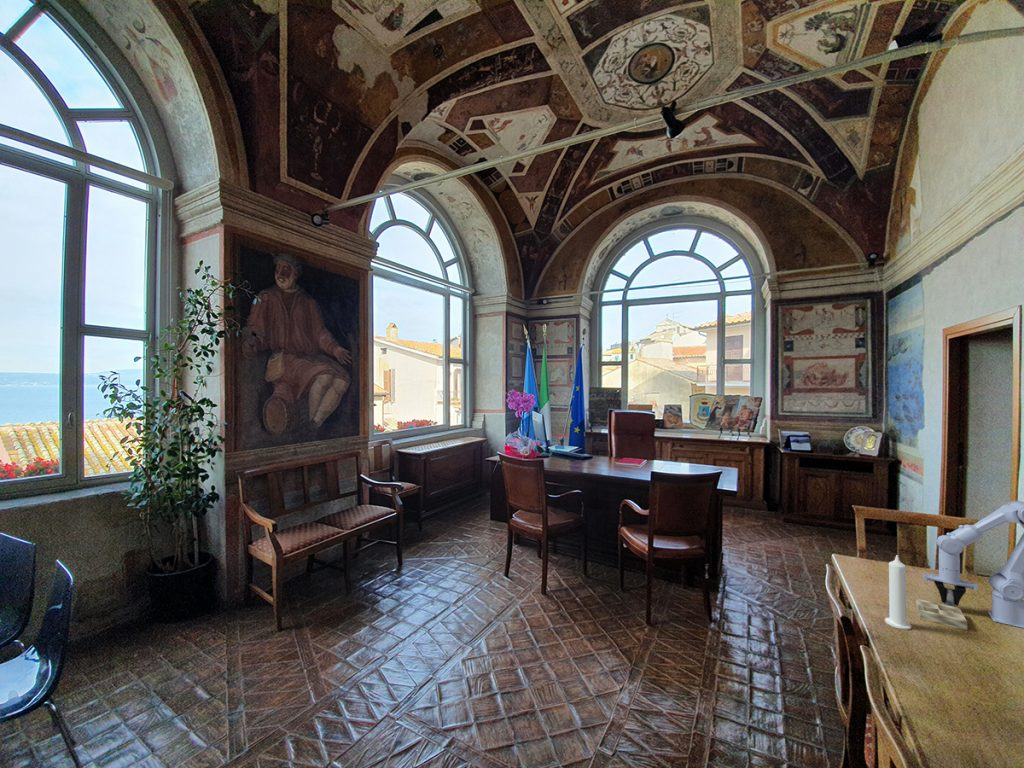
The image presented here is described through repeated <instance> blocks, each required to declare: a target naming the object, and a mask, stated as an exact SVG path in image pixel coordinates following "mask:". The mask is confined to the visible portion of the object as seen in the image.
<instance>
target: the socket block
mask: <svg viewBox="0 0 1024 768" xmlns="http://www.w3.org/2000/svg"><path fill="white" fill-rule="evenodd" d="M915 608H916V611H917V613H918V617H919V619H920V620H923V621H926V622H931V623H935V624H939V625H944V626H947V627H951V628H955V629H959V630H965V631H968V620H967V619H966V617H965V616H964V613H963V612H962V610H961V608H959V607H958V606H955V607H952V606H948V605H944V603H938V602H933V601H929V600H924V599H921V598H915Z"/></svg>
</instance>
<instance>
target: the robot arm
mask: <svg viewBox="0 0 1024 768" xmlns="http://www.w3.org/2000/svg"><path fill="white" fill-rule="evenodd" d="M1006 523H1012V524H1020V526H1021V527H1022V528H1023V529H1024V501H1020V500H1011V501H1009V502H1008V503H1007V504H1003V505H1001V506H1000V507H999V508H998V509H996V510H995V511H993V512H992V513H989V514H988V515H987V516H985V517H983V518H982V519H981V520H979V521H977V522H975V523H974V524H964V525H963V524H960V525H958V528H956V529H954V530H953V531H951V532H947V533H946V534H944V535H943V534H942V535H940V536H938V537H937V539H936V540H935V543H936V546H937V547H938V575H936V574H928V573H923V574H922V579H923V581H926V582H927V581H929V582H934V584H935V586H936V588H937V590H938V593H939V596H940V601H941V604H944V603H945V597H944V591H945V587H946V586H945V584H946V585H950V586H953V587H954V588H953V589H955V607H958V606H959V604H960V601H961V599H962V598H963V596H964V595H965V594H966V592H967V589H969V590H970V589H971V590H973V591H977V592H978V587H979V586H978V584H977V583H975V582H974V583H973V582H971V581H970V582H969V581H966V580H963V579H961V558H960V556H961V555H960V554H961V553H962V552H963V551H964V548H966V547H967V546H970V544H974V543H975V542H977V541H979V540H980V539H982V538H983V533H986V532H988V531H990V530H992V529H994V528H997V527H999V526H1002V525H1003V524H1006ZM988 583H989V585H990V586H991V587H992V590H991V611H987V613H988V615H989V616H990V618H991V620H992V621H993V622H995V623H1000V624H1004V625H1008V626H1014V627H1018V628H1021V629H1024V532H1023V533H1022V535H1021V537H1020V539H1018V542H1017V544H1016V545H1015V547H1014V549H1013V550H1012V552H1011V554H1010V556H1009V557H1008V558H1007V560H1006V563H1005V564H1004V566H1003V567H1000V568H998V569H997V570H996V572H995V573H993V574H990V576H989V577H988Z"/></svg>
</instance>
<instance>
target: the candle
mask: <svg viewBox="0 0 1024 768" xmlns="http://www.w3.org/2000/svg"><path fill="white" fill-rule="evenodd" d="M906 568H907V567H906V565H905V564H904V563H903V562H902V561H901V560H900V558H899V555H898V554H896V555H895V558H894V560H892V561H889V562H888V590H889V591H888V593H889V596H888V598H889V600H888V601H889V603H888V606H889V607H888V609H889V610H888V613H889V616H888V617H885V618H884V622H885V623H886V625H887V624H888V626H891V627H893V628H895V629H899V630H903V631H904V630H906V631H908V630H909V631H910V630H911V629H912V624H910V623H909V622H907V573H906V572H907V569H906Z"/></svg>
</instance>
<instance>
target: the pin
mask: <svg viewBox="0 0 1024 768" xmlns="http://www.w3.org/2000/svg"><path fill="white" fill-rule="evenodd" d="M944 587H945V591H944V597H945V603H943V605H948V606H952V607H956V605H955V588H952V587H948V586H944Z"/></svg>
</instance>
